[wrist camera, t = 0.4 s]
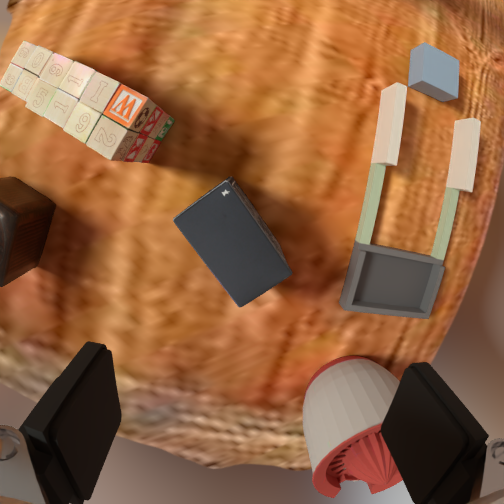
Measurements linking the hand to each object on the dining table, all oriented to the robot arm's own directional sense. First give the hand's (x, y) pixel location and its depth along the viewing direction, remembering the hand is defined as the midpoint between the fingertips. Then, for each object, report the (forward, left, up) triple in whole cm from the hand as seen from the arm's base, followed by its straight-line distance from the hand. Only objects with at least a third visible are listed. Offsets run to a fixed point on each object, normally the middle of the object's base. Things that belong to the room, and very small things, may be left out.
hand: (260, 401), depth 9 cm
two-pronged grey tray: (-7, +21, -30) cm, 37 cm away
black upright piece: (+6, -33, -30) cm, 46 cm away
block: (-26, +21, -30) cm, 45 cm away
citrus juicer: (+22, +19, -30) cm, 42 cm away
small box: (0, -1, -30) cm, 30 cm away
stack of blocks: (-13, -21, -31) cm, 39 cm away
